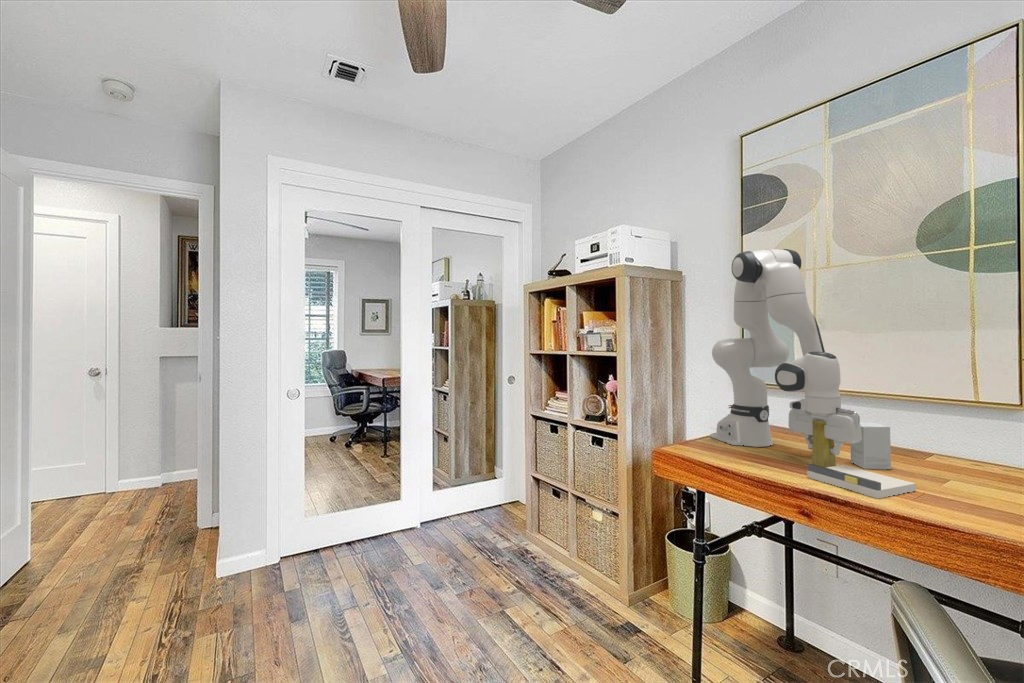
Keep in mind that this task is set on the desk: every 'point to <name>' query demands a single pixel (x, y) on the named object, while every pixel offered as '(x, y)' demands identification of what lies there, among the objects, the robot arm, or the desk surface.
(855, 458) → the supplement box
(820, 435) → the vase
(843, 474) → the shelf board
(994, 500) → the desk surface
